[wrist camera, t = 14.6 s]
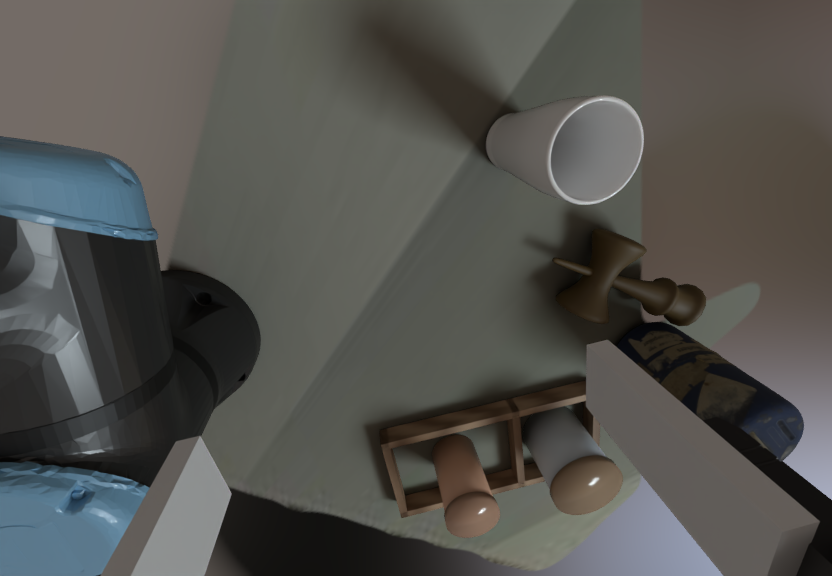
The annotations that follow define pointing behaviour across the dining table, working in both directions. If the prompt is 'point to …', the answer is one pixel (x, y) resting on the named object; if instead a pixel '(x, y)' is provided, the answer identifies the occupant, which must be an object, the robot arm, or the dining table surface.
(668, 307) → the kendama
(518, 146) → the white tall cup
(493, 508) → the tan domed cylinder
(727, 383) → the canister
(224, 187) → the dining table surface
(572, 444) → the white lidded jar
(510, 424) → the caddy
